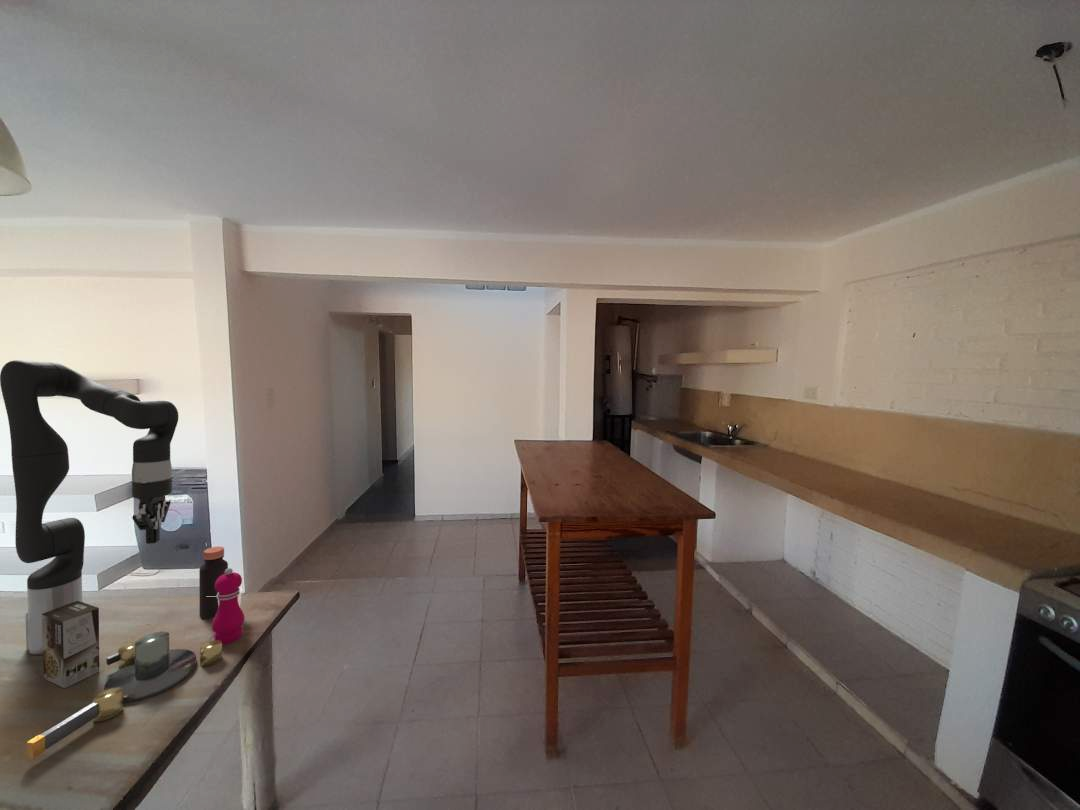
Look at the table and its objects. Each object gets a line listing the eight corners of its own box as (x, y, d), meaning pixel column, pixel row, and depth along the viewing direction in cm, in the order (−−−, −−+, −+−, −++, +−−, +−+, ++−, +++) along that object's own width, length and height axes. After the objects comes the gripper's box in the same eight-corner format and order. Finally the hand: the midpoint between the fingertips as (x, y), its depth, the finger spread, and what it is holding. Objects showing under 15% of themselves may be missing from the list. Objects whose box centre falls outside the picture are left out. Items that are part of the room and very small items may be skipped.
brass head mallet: (39, 766, 75) (39, 745, 74) (21, 761, 75) (21, 740, 75) (128, 706, 88) (128, 688, 88) (112, 703, 89) (112, 685, 89)
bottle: (195, 621, 120) (195, 555, 119) (204, 609, 126) (204, 546, 125) (223, 616, 122) (224, 552, 121) (230, 605, 129) (230, 544, 127)
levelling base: (64, 696, 91) (63, 656, 90) (151, 643, 109) (151, 609, 109) (159, 708, 89) (158, 667, 88) (230, 652, 107) (230, 617, 107)
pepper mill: (226, 648, 109) (226, 576, 108) (204, 643, 110) (204, 572, 109) (250, 632, 116) (251, 564, 115) (230, 627, 117) (230, 561, 116)
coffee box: (101, 671, 99) (100, 607, 98) (63, 689, 93) (62, 622, 92) (80, 661, 102) (78, 599, 101) (41, 678, 95) (40, 612, 95)
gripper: (148, 472, 110) (148, 534, 111) (117, 484, 97) (118, 554, 98) (182, 471, 112) (182, 532, 113) (156, 483, 100) (157, 551, 101)
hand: (152, 542), depth 106 cm, fingers closed
